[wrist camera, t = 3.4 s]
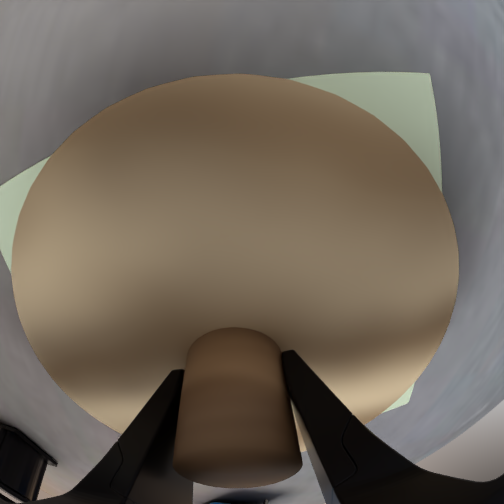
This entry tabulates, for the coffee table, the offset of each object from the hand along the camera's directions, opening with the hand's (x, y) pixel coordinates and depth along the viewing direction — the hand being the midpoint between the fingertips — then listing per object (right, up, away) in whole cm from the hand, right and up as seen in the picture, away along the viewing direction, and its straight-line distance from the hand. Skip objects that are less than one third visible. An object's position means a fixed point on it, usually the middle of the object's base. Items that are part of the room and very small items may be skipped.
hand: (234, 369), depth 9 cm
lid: (0, 0, +1) cm, 1 cm away
